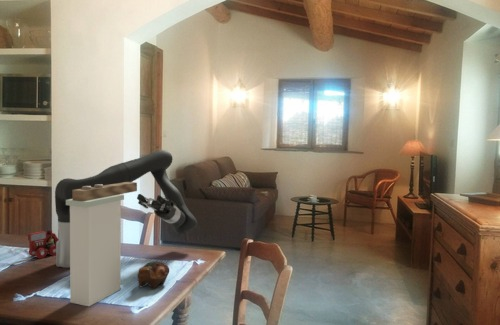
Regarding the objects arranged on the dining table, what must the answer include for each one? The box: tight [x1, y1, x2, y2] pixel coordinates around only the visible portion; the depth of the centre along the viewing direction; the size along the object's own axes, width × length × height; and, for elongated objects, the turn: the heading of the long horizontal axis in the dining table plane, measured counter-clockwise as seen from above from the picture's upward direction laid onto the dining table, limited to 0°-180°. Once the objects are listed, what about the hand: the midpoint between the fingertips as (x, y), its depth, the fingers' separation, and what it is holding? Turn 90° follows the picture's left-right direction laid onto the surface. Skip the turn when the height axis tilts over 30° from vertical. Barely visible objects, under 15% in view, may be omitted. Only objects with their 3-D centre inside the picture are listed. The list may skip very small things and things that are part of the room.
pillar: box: [66, 194, 125, 307], centre depth 119 cm, size 16×8×31 cm, turn 160°
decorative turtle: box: [137, 261, 170, 290], centre depth 129 cm, size 10×15×8 cm, turn 165°
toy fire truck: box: [27, 229, 58, 259], centre depth 159 cm, size 7×12×10 cm, turn 147°
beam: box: [72, 181, 138, 201], centre depth 123 cm, size 25×4×4 cm, turn 160°
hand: (148, 196), depth 144 cm, fingers open, 8 cm apart
